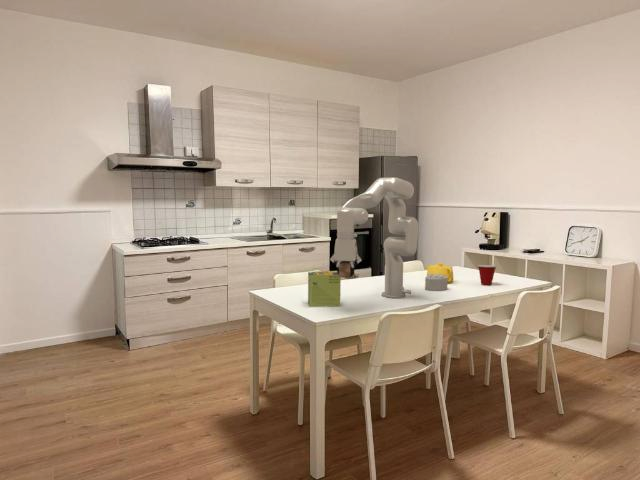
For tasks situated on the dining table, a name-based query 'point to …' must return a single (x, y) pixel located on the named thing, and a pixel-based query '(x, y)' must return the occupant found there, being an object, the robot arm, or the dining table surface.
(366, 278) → the dining table surface
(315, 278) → the protein box
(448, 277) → the teapot
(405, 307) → the dining table surface
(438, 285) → the lumpy-topped squat cylinder
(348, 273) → the walnut block
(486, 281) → the plastic cup
